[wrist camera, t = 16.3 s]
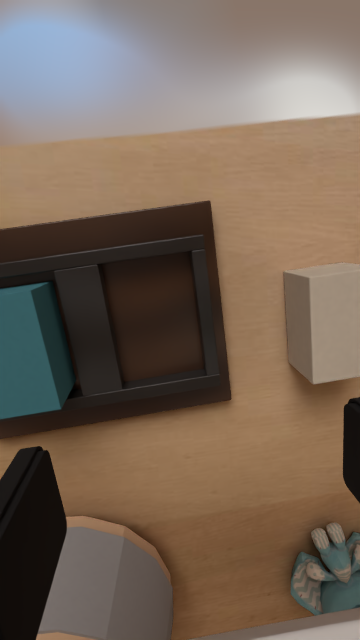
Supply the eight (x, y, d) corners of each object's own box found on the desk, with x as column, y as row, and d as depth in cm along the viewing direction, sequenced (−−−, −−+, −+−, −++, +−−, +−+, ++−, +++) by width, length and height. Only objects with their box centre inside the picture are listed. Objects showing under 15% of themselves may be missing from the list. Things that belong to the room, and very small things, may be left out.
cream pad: (283, 270, 26) (309, 277, 22) (342, 261, 26) (380, 266, 22) (288, 362, 28) (313, 385, 24) (343, 353, 28) (378, 374, 24)
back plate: (-65, 239, 23) (-92, 239, 21) (207, 202, 24) (214, 197, 22) (-3, 432, 27) (-19, 452, 25) (228, 393, 28) (236, 409, 26)
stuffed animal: (408, 541, 27) (450, 663, 28) (359, 490, 34) (394, 589, 35) (288, 586, 27) (334, 706, 28) (264, 526, 34) (301, 623, 35)
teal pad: (-18, 290, 23) (-56, 302, 19) (52, 280, 24) (30, 290, 19) (12, 390, 25) (-16, 422, 21) (76, 380, 26) (61, 409, 21)
